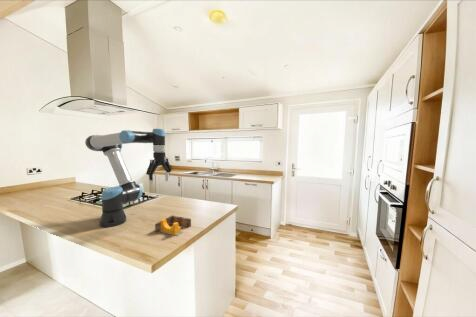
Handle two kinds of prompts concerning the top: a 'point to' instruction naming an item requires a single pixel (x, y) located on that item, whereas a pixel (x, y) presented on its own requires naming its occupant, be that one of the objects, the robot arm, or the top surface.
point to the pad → (172, 234)
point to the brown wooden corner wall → (172, 220)
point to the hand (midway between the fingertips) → (160, 183)
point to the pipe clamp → (172, 230)
